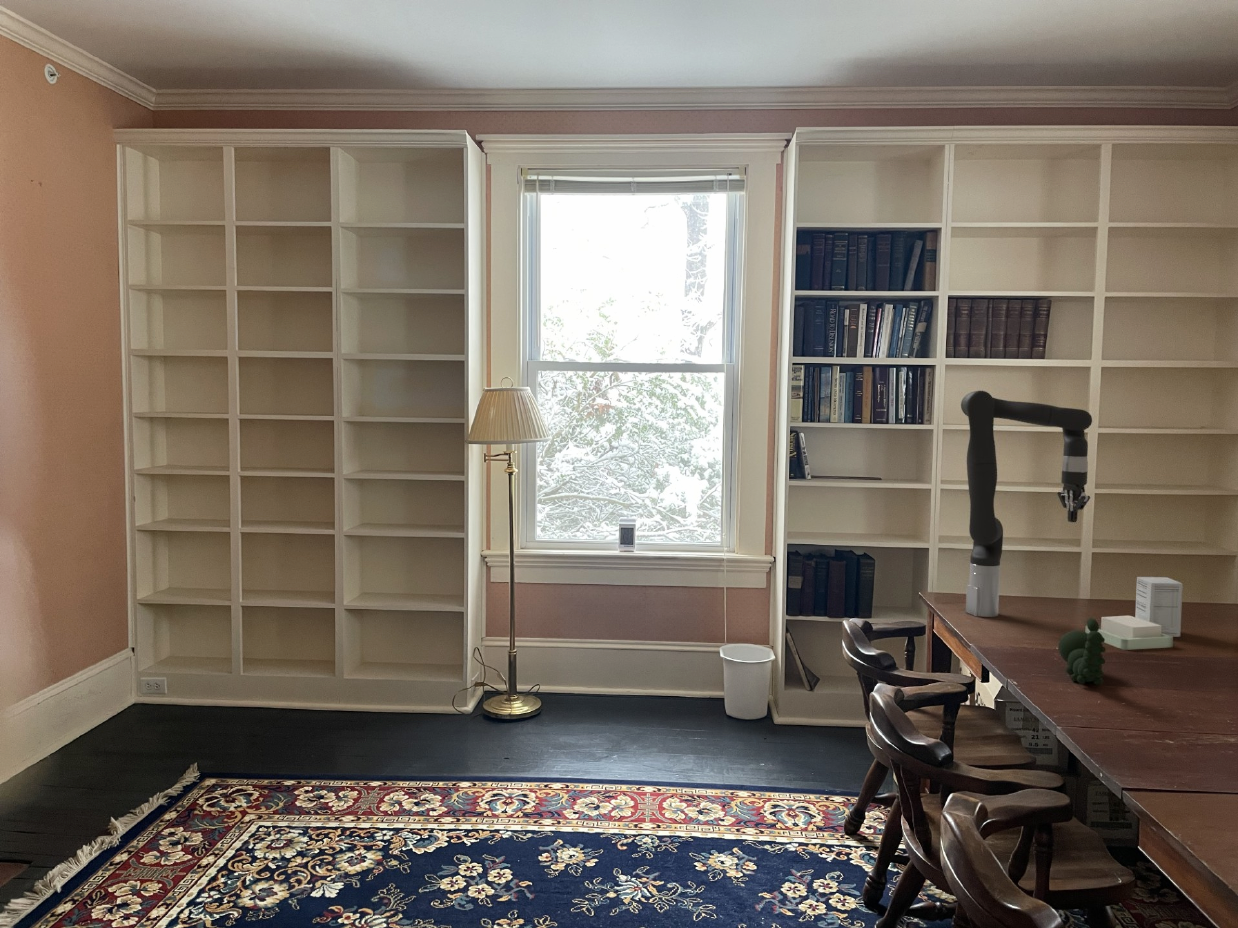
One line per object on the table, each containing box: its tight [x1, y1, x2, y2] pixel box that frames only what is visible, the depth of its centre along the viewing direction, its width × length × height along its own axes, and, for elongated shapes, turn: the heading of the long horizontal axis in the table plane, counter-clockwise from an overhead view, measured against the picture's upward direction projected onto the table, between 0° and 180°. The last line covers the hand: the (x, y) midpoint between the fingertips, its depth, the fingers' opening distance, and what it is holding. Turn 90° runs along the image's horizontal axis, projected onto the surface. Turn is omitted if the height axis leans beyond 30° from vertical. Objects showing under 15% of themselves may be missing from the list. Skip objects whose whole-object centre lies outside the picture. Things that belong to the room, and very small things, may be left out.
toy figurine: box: [1057, 617, 1107, 686], centre depth 222 cm, size 9×19×25 cm
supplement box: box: [1134, 576, 1183, 638], centre depth 265 cm, size 10×9×17 cm
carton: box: [1100, 615, 1161, 638], centre depth 258 cm, size 10×12×6 cm
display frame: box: [1084, 625, 1174, 651], centre depth 257 cm, size 16×16×3 cm
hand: (1072, 521), depth 283 cm, fingers closed
